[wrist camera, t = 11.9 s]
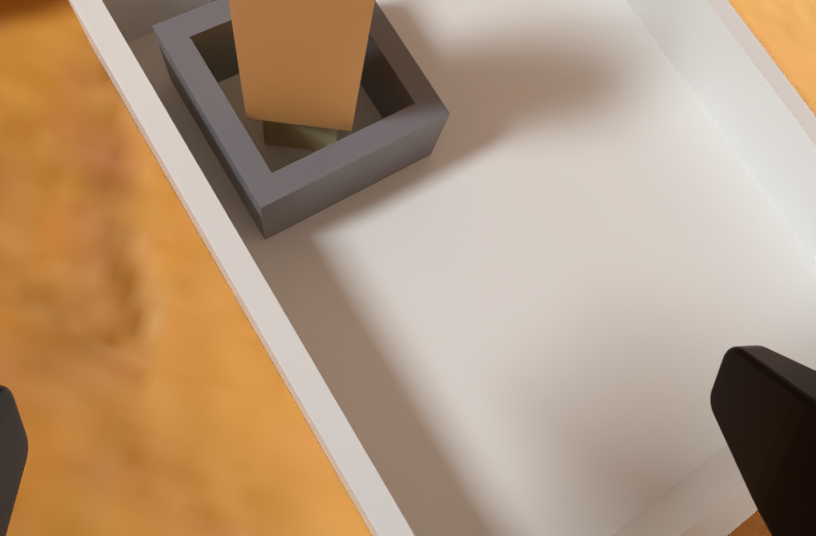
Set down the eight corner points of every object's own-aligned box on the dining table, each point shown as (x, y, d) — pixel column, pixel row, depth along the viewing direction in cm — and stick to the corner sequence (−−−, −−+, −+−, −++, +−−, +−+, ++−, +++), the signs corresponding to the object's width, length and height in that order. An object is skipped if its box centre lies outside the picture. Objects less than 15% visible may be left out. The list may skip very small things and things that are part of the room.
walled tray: (872, 344, 25) (975, 327, 21) (454, 678, 20) (492, 733, 16) (534, -121, 29) (570, -208, 25) (94, 52, 23) (55, -25, 19)
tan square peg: (345, 164, 23) (396, -125, 11) (251, 153, 22) (204, -161, 11) (352, 83, 23) (407, -263, 12) (261, 70, 23) (229, -302, 12)
